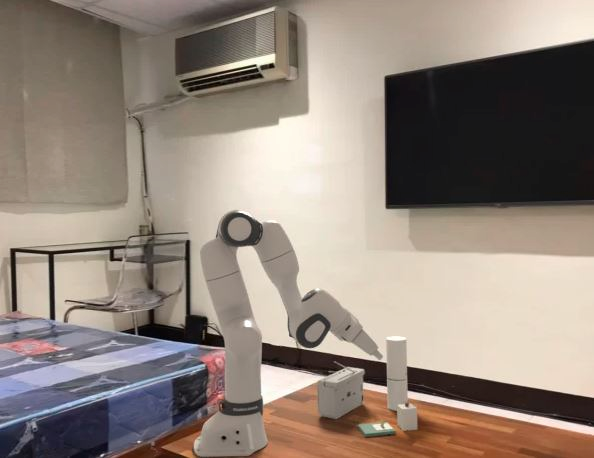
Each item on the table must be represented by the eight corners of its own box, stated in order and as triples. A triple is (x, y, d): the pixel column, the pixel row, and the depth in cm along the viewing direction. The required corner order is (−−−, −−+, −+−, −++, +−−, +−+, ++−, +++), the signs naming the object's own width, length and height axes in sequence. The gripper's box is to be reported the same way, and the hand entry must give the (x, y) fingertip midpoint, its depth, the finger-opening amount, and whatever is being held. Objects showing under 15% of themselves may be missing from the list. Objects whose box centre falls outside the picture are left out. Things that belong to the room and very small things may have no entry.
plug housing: (402, 431, 175) (402, 406, 175) (397, 425, 180) (396, 401, 179) (417, 429, 176) (416, 404, 176) (411, 424, 180) (411, 400, 180)
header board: (365, 436, 171) (365, 426, 171) (357, 427, 179) (357, 417, 179) (395, 433, 173) (395, 423, 173) (387, 424, 181) (386, 414, 181)
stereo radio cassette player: (347, 400, 206) (346, 347, 206) (366, 404, 201) (365, 350, 201) (316, 417, 189) (315, 359, 189) (337, 421, 185) (335, 363, 184)
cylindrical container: (410, 406, 198) (409, 337, 198) (403, 412, 192) (401, 341, 192) (392, 403, 202) (390, 335, 202) (384, 408, 196) (383, 339, 196)
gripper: (330, 328, 183) (360, 354, 185) (347, 340, 163) (380, 370, 165) (343, 313, 184) (372, 340, 186) (361, 324, 164) (393, 354, 166)
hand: (376, 354), depth 176 cm, fingers open, 8 cm apart
